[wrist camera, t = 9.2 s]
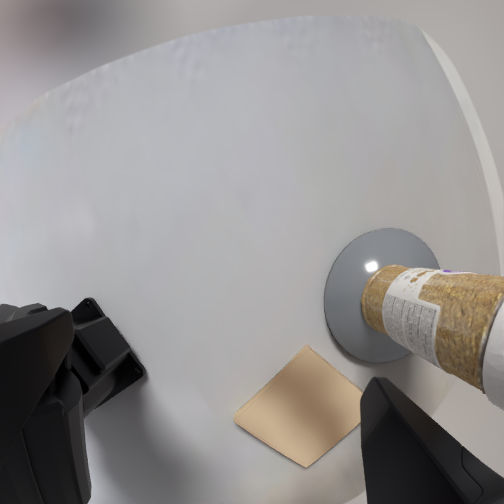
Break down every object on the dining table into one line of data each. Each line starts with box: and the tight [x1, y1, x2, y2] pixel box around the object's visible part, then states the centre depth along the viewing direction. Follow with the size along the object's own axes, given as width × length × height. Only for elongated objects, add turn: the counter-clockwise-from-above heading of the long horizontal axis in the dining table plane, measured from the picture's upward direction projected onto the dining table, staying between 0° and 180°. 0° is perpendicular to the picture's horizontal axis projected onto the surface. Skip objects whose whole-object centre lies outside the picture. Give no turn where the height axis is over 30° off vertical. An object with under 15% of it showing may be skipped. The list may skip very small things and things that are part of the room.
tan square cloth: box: [234, 345, 363, 468], centre depth 18 cm, size 7×7×1 cm
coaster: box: [324, 228, 440, 363], centre depth 18 cm, size 9×9×1 cm
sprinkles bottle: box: [361, 265, 504, 410], centre depth 11 cm, size 5×5×14 cm
